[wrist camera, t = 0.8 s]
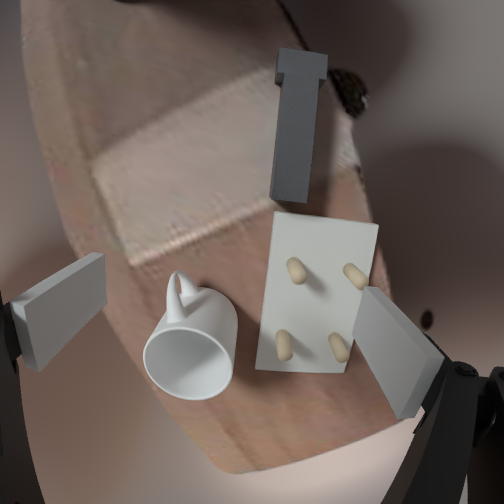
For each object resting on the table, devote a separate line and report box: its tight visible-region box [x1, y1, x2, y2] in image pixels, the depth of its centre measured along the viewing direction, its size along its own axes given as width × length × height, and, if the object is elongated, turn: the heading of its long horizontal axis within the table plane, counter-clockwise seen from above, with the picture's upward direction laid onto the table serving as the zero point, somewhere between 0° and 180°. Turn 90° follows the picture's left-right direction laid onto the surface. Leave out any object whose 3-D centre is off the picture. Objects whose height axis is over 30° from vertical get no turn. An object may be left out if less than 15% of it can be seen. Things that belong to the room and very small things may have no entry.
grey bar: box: [269, 47, 328, 203], centre depth 29 cm, size 16×5×4 cm, turn 174°
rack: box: [255, 211, 379, 373], centre depth 33 cm, size 20×12×6 cm, turn 174°
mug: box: [143, 270, 238, 400], centre depth 31 cm, size 9×12×11 cm
